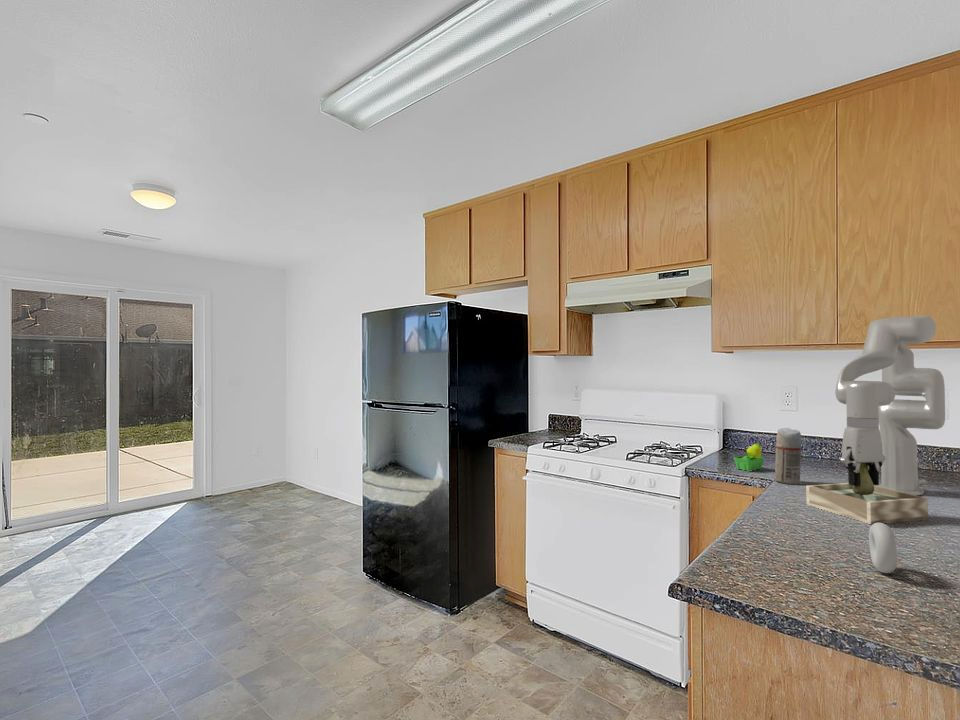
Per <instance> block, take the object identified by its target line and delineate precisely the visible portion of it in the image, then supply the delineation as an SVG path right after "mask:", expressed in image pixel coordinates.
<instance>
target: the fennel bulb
mask: <svg viewBox="0 0 960 720" xmlns="http://www.w3.org/2000/svg"><path fill="white" fill-rule="evenodd" d="M868 470H869V469H868V463H861V464H860V468H859V471H858V473H860V483H861V485H860V486H854V485H853V491H854V492H855V493H856V494H859V495H871V494H872V493H873V492H874V486H875V485H873V482H872V480H871V478H870V475H869V473H868Z"/></svg>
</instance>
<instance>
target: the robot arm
mask: <svg viewBox="0 0 960 720" xmlns="http://www.w3.org/2000/svg"><path fill="white" fill-rule="evenodd" d="M936 331H937V326H936V322H935V320H934V318H933V317H931V316H929V315H915V316H914V315H912V316H897V317H896V316H895V317H885V318H884V317H883V318H879V319H875V320H872V321H870V323H869V325H868V329H867V333H866V336H865V337H866V338H865V341H864V344H863V349H862V353H861V355H858V356H856V357H855V358H854V359H852V360H850V361H849V362H848V363H847V364H846V365H845V366H843V367H842V369H841V370H840V372H839V375H838V378H837V382H836V385H835V392H834V393H835V399H836V400H837V401H838V402H839V403H841V404H843V405H846V427H845V428H844V431H843V435H842V444H841V457H840V463H842V465H843V466H844V467H845V468H846V471H847V473H848V475H847V476H848V477H847V480H848V483H849V484H850V485H854V486H860V485H861V483H860V473H858V471H859V468H860V464H861V463H868V473H869V475H870V478H871V480H872V482H873V485H874V486H876V487H881V488H885V489H889V490H894V491H898V492H902V493H907V494H911V495H916V496H923V495H924V494H925V491H924V489H922V488H921V487H920V486H927V485H928V481H927V480H926V479H919V476H918V475H919V473H918V443H917V442H918V441H917V439H916V438H915V436H914V435H913V434H912V432H910V431H909V430H908V429H918V430H919V429H920V430H940V429H941V428H943V426H945V422H946V391H945V389H946V387H945V379H944V376H943V374H942V372H941V371H940V370H938V369H936V368H933V367H915V360H914V358H915V355H914V352H913V351H912V349H911V348H909V347H908V346H907V345H913V344H925V343H927V342H930V341H931V340H932V339H934V338H935V335H936V333H937V332H936ZM880 370H881V381H880V380H856V379H858V378H859V377H862V376H864V375H867V374H870V373H874V372H877V371H880ZM896 396H899V397H900V396H902V397H903V396H904V397H905V396H906V397H907V396H908V397H923V398H924V399H925V400H919V399H917V400H916V399H898V398H896ZM879 472H880V473H881V475H880V476H881V477H880V476H879V474H880V473H879ZM879 478H881V483H880V479H879Z"/></svg>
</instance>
